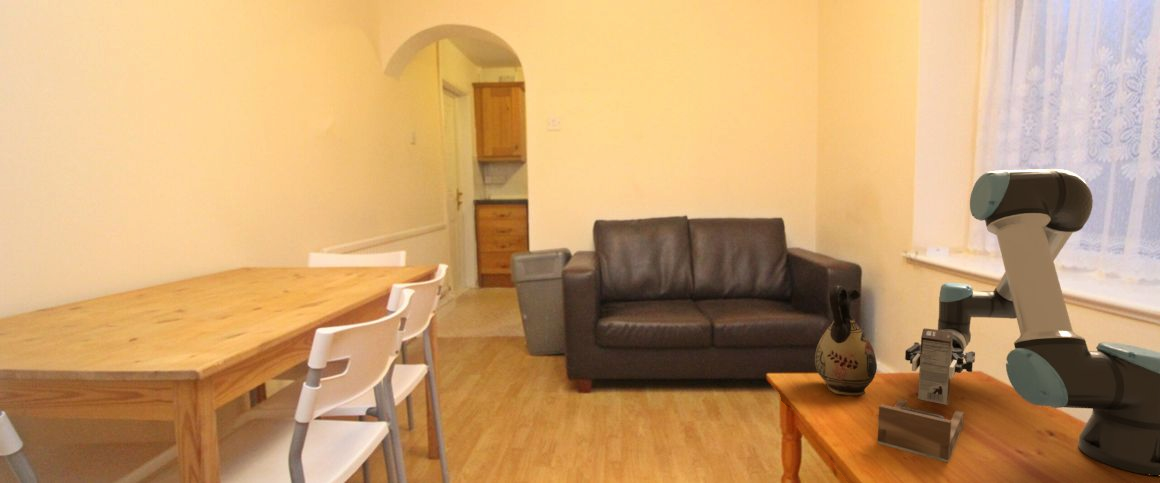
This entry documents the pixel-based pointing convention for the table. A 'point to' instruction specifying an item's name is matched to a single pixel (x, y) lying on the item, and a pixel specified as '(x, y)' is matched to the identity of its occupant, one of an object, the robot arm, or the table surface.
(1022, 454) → the table surface
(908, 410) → the pusher
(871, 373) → the ceramic jug
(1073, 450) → the table surface
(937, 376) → the coffee box
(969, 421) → the table surface
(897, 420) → the wooden tray
